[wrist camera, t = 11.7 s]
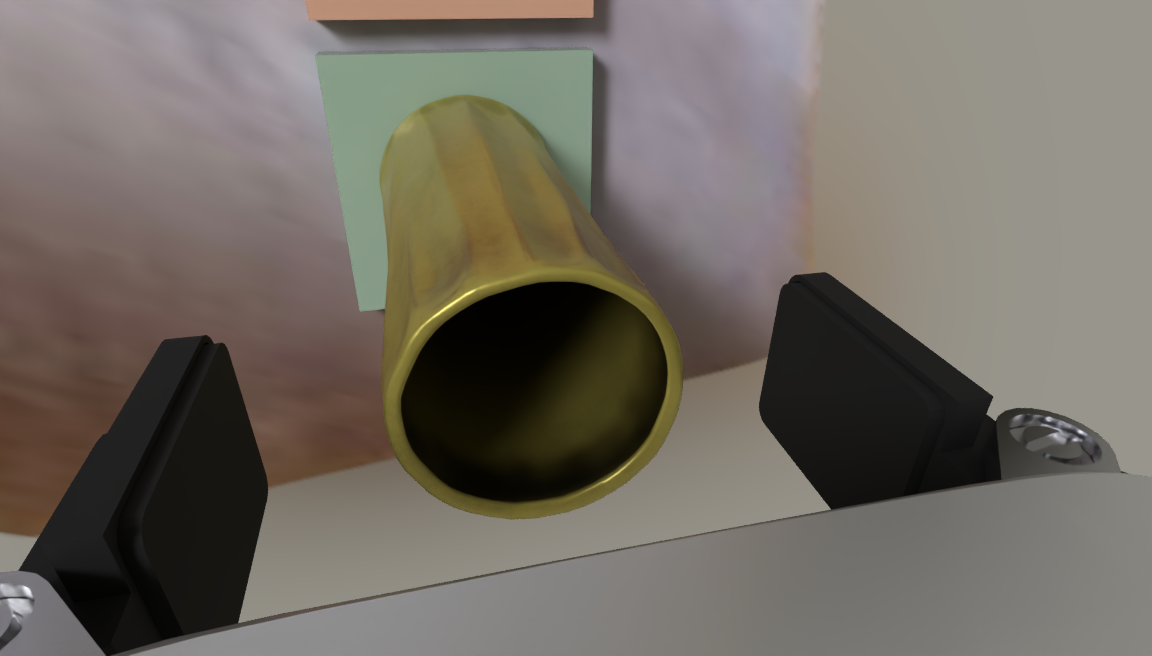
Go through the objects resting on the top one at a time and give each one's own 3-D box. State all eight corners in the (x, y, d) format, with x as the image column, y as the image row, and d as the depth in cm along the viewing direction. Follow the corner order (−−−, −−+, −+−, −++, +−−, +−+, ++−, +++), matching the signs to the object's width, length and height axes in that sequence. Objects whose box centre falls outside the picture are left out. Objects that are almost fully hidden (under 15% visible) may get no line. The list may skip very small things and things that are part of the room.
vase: (341, 156, 22) (267, 380, 10) (495, 57, 22) (619, 159, 9) (445, 291, 25) (488, 589, 13) (580, 206, 25) (758, 429, 12)
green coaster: (318, 52, 21) (315, 55, 20) (585, 47, 23) (592, 50, 22) (361, 300, 25) (359, 311, 25) (583, 279, 27) (589, 289, 26)
